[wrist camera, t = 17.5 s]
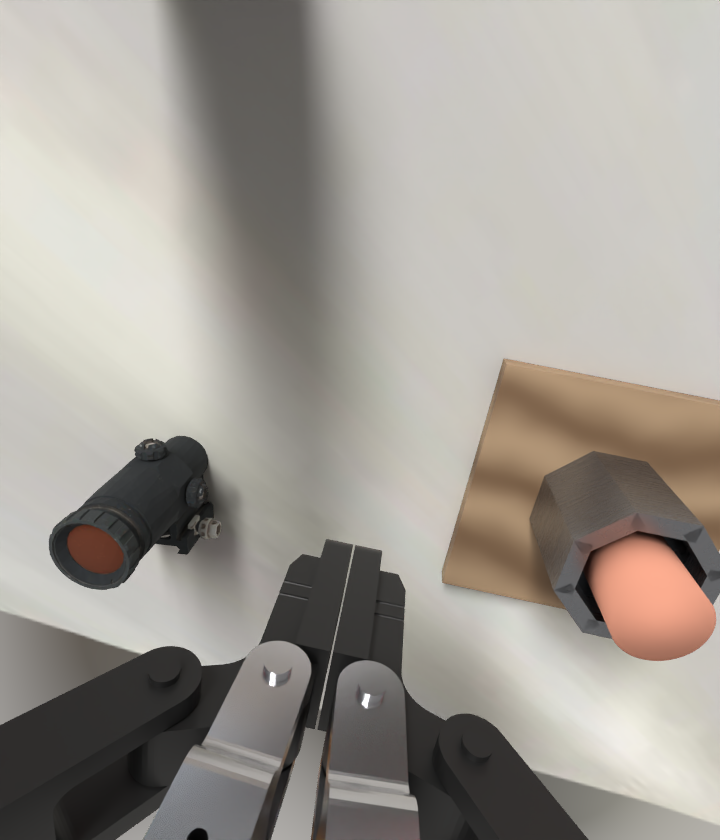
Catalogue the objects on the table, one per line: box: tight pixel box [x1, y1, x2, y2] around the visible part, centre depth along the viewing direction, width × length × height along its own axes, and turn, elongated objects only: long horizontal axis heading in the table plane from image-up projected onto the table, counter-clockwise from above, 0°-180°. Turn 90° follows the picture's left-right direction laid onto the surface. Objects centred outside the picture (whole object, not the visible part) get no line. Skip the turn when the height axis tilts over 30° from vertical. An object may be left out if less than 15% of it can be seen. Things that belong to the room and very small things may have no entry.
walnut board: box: [442, 359, 720, 609], centre depth 41 cm, size 20×20×2 cm
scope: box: [49, 436, 222, 590], centre depth 39 cm, size 8×14×10 cm
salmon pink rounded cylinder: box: [583, 531, 716, 661], centre depth 32 cm, size 6×6×6 cm
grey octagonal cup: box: [529, 451, 720, 639], centre depth 36 cm, size 10×10×8 cm
